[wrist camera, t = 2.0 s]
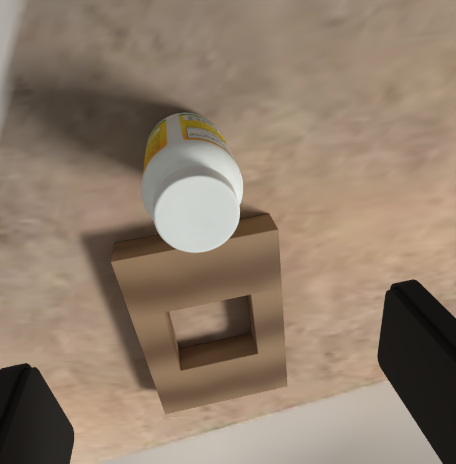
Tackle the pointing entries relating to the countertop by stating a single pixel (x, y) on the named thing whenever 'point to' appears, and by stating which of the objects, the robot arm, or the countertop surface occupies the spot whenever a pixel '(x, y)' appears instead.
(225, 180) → the supplement bottle
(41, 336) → the countertop surface
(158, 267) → the frame
